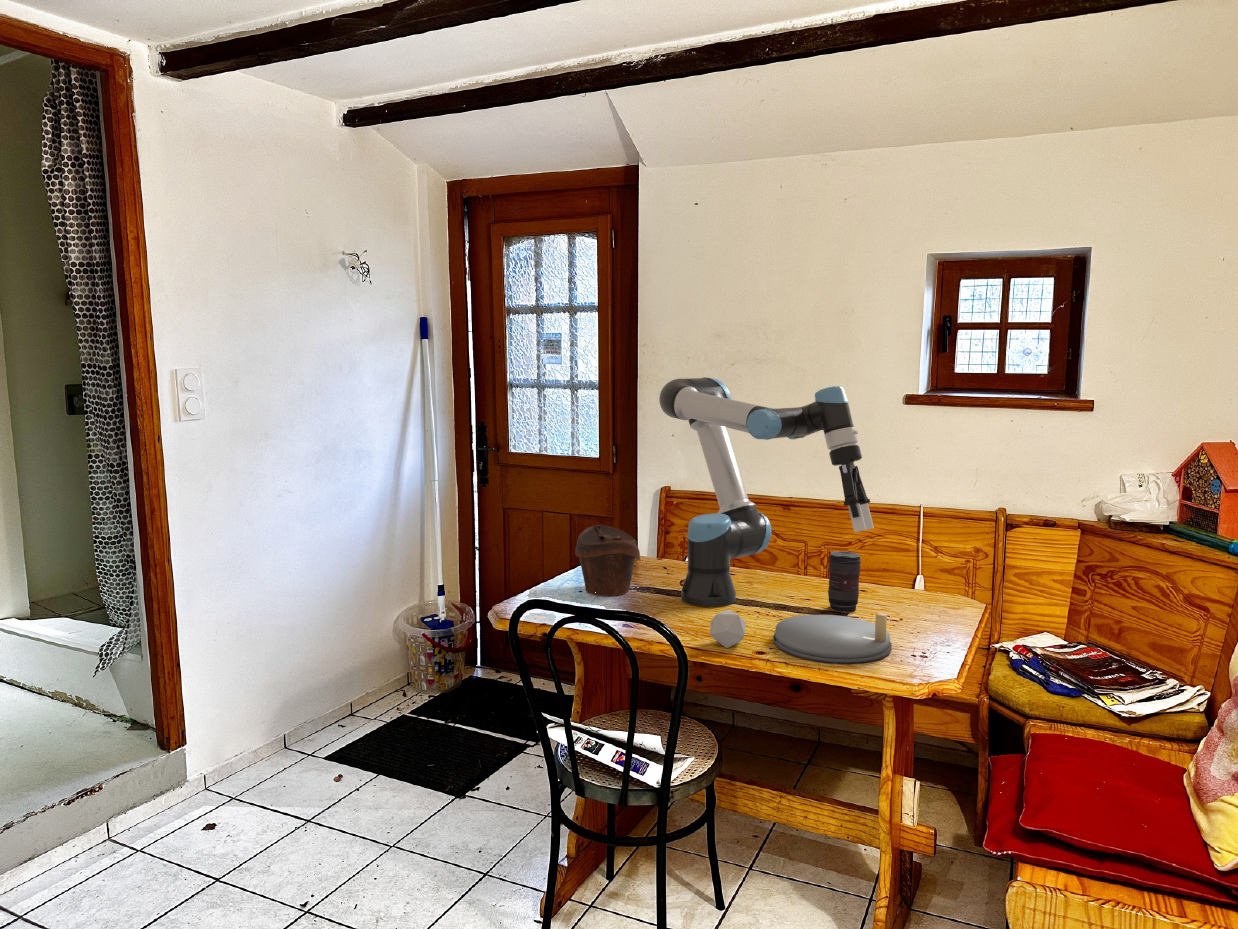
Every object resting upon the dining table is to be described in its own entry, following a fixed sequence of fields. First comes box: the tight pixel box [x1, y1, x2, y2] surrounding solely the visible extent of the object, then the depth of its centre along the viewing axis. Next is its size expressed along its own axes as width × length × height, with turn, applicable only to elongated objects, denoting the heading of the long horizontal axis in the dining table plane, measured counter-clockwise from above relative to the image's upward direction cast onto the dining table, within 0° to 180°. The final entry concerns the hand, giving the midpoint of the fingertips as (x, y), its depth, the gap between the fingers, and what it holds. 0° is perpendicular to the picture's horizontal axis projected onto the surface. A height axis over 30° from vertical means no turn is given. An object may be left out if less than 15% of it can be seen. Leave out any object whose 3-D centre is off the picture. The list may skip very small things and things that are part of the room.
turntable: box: [774, 612, 891, 659], centre depth 200 cm, size 26×26×8 cm
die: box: [709, 609, 747, 649], centre depth 200 cm, size 8×9×10 cm
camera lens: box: [827, 550, 862, 613], centre depth 228 cm, size 8×8×15 cm
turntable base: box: [772, 632, 893, 665], centre depth 201 cm, size 27×27×1 cm
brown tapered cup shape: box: [574, 524, 641, 597], centre depth 245 cm, size 18×20×18 cm
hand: (864, 530), depth 211 cm, fingers open, 13 cm apart
